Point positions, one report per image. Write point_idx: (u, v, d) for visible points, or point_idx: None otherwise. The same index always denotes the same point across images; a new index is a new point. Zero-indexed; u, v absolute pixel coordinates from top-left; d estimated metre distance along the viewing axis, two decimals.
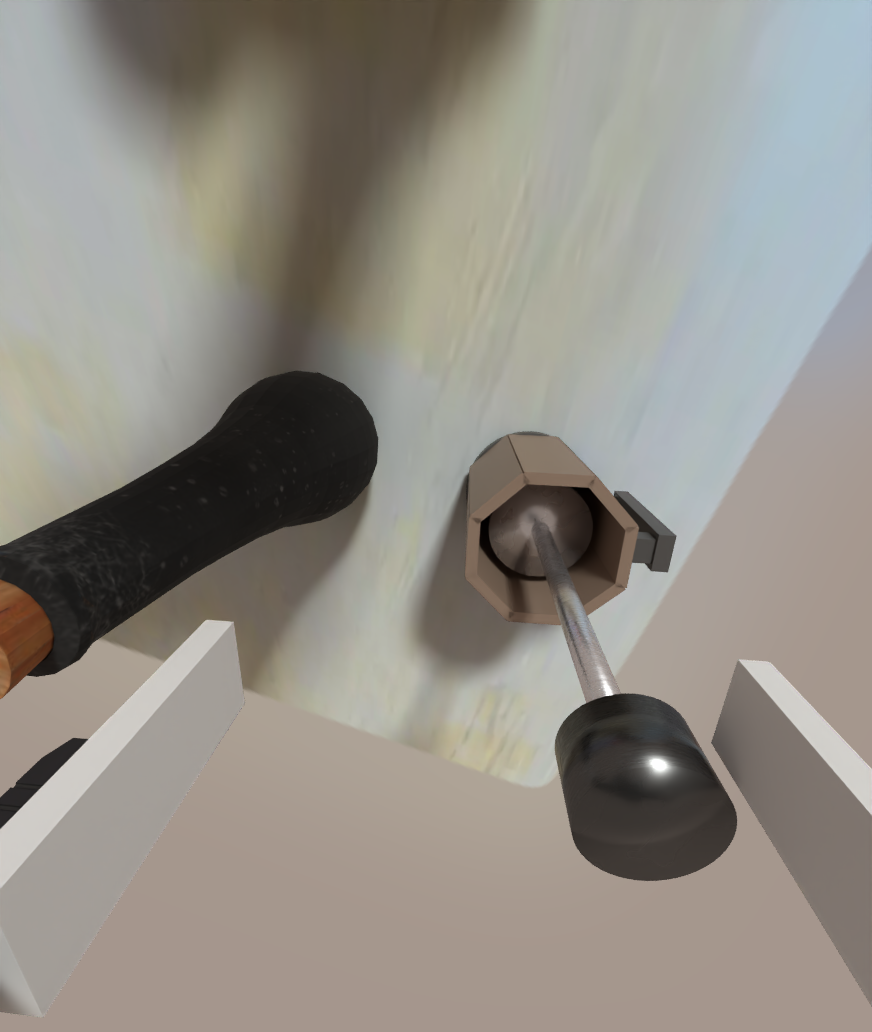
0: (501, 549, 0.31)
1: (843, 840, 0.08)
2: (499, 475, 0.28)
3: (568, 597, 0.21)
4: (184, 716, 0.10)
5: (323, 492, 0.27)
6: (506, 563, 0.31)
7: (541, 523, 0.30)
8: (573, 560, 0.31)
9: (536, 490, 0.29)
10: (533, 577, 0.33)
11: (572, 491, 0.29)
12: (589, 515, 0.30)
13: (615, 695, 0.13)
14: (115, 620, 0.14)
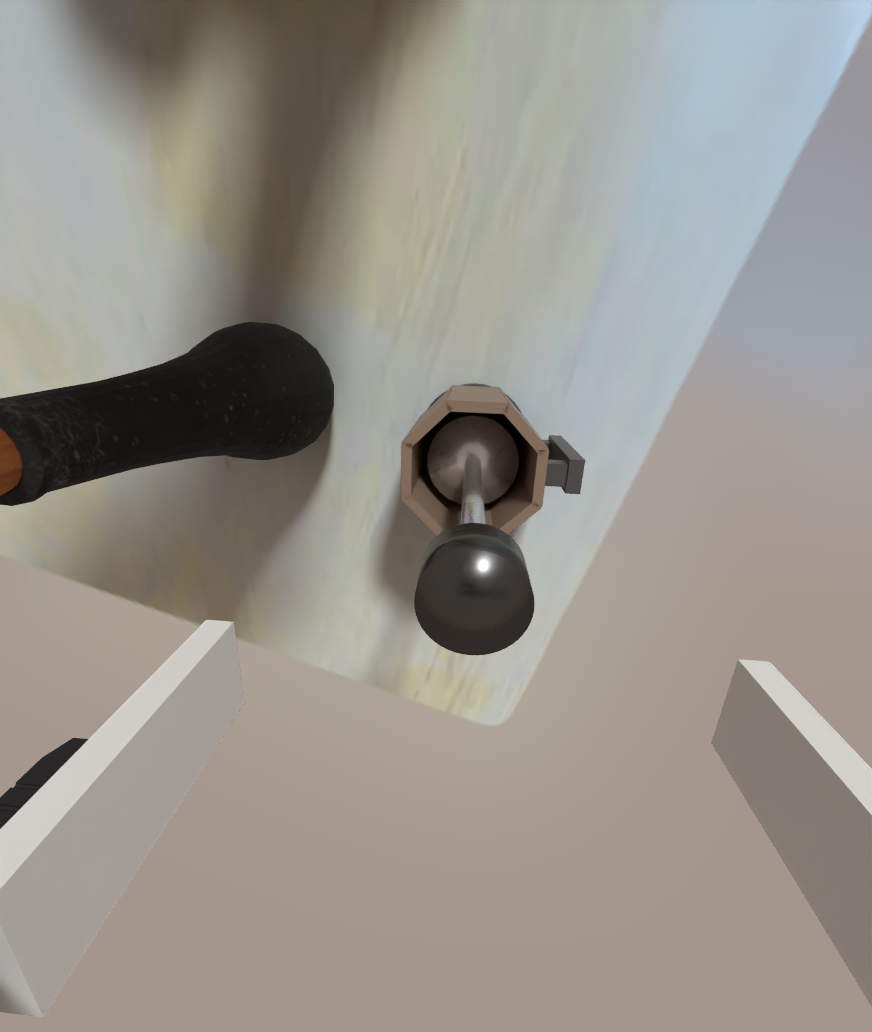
0: (439, 480, 0.35)
1: (843, 840, 0.08)
2: (432, 410, 0.32)
3: (471, 494, 0.25)
4: (184, 716, 0.10)
5: (275, 422, 0.31)
6: (444, 493, 0.35)
7: (472, 455, 0.34)
8: (503, 490, 0.35)
9: (467, 425, 0.33)
10: None
11: (499, 425, 0.33)
12: (515, 447, 0.33)
13: (462, 524, 0.17)
14: (74, 470, 0.17)
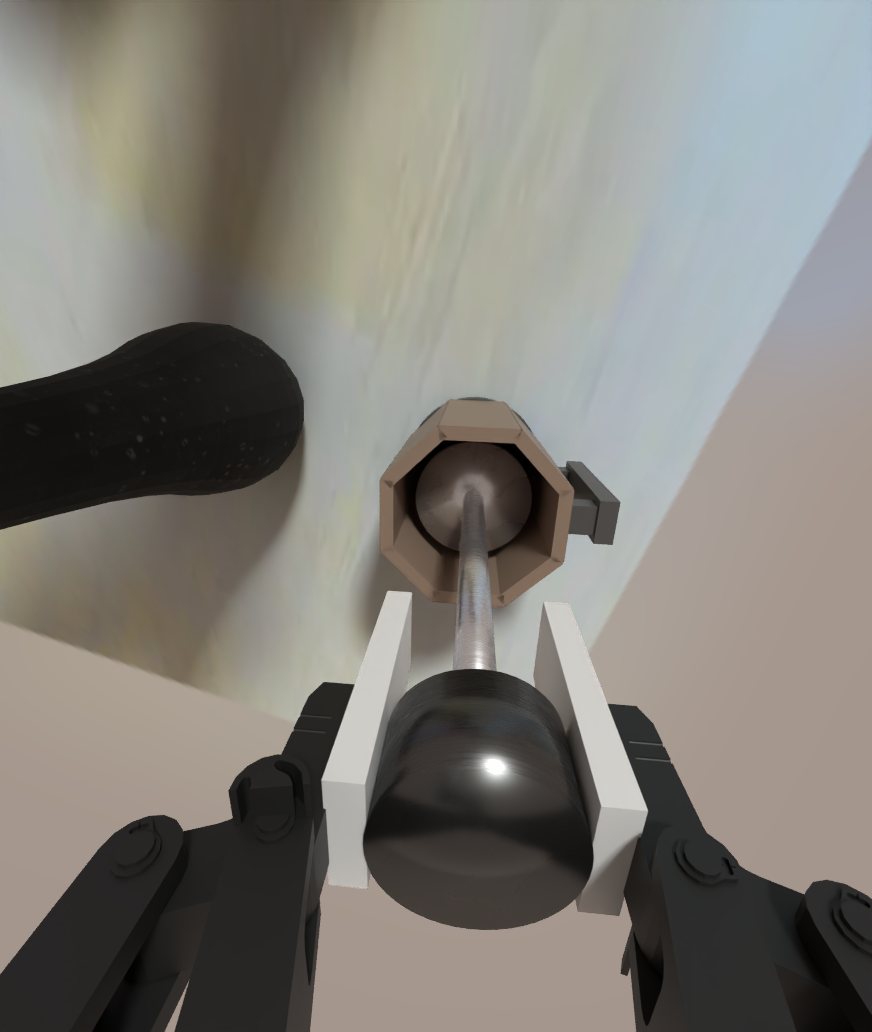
0: (430, 522, 0.27)
1: (563, 723, 0.10)
2: (421, 435, 0.25)
3: (471, 564, 0.17)
4: (400, 667, 0.12)
5: (214, 452, 0.24)
6: (437, 538, 0.28)
7: (473, 491, 0.26)
8: (512, 534, 0.27)
9: (466, 453, 0.26)
10: None
11: (506, 454, 0.26)
12: (527, 482, 0.26)
13: (456, 671, 0.10)
14: None
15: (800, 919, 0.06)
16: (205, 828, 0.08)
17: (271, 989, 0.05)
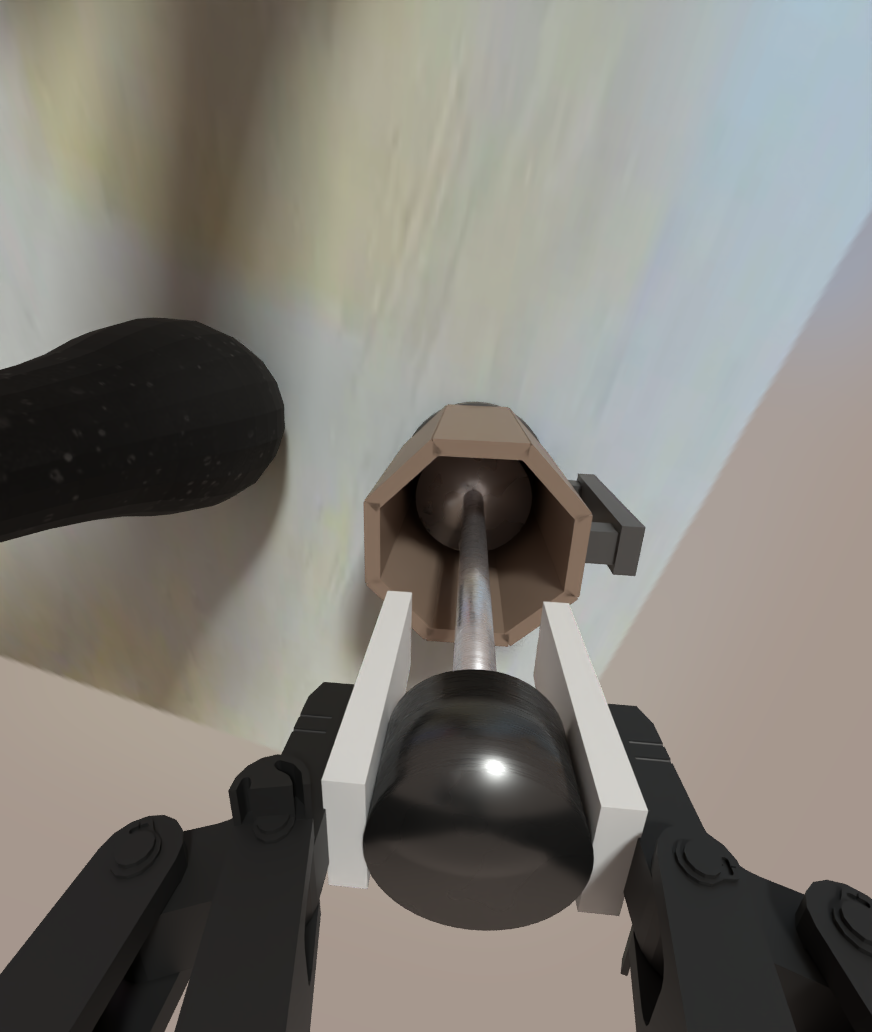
0: (430, 521, 0.27)
1: (563, 724, 0.10)
2: (413, 448, 0.22)
3: (471, 564, 0.17)
4: (400, 668, 0.12)
5: (171, 469, 0.20)
6: (437, 537, 0.28)
7: (473, 491, 0.26)
8: (512, 534, 0.27)
9: None
10: None
11: None
12: (527, 481, 0.26)
13: (456, 671, 0.10)
14: None
15: (799, 918, 0.06)
16: (205, 827, 0.08)
17: (271, 989, 0.05)
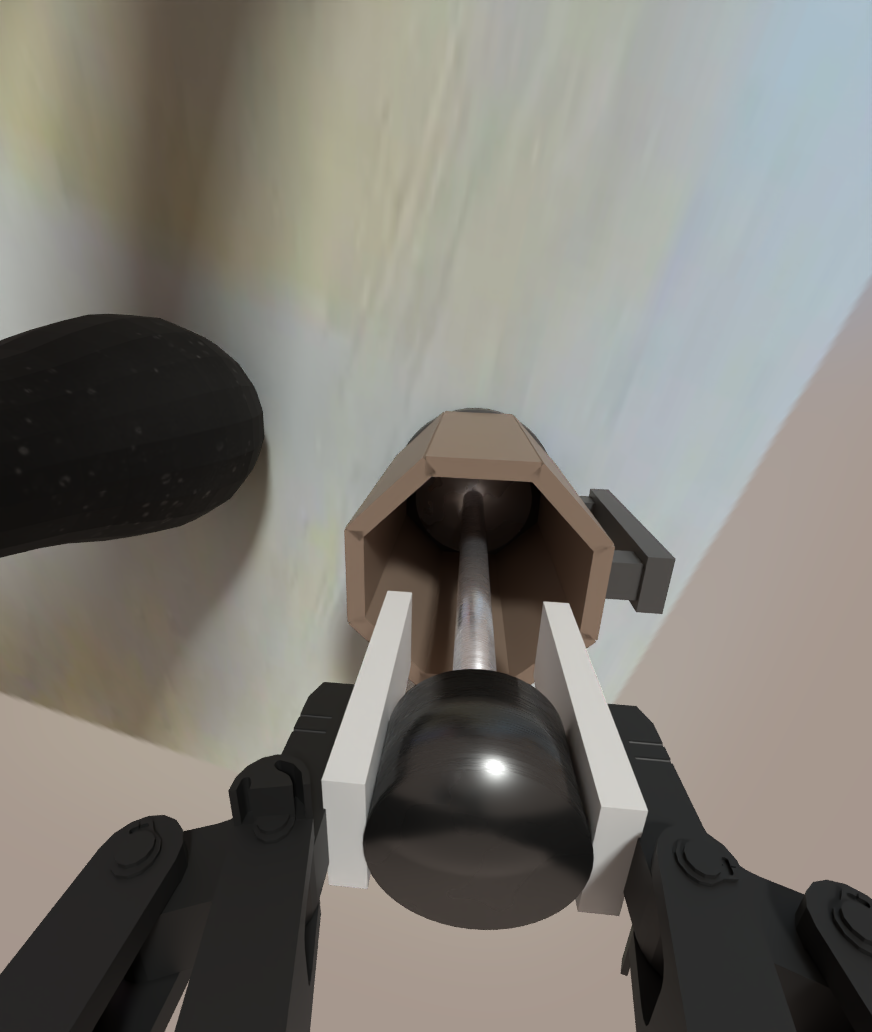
0: (430, 522, 0.27)
1: (563, 723, 0.10)
2: (404, 464, 0.19)
3: (471, 564, 0.17)
4: (400, 668, 0.12)
5: (120, 490, 0.17)
6: (437, 538, 0.28)
7: (473, 491, 0.26)
8: (512, 534, 0.27)
9: None
10: None
11: None
12: (527, 482, 0.26)
13: (456, 671, 0.10)
14: None
15: (801, 920, 0.06)
16: (205, 827, 0.08)
17: (271, 989, 0.05)
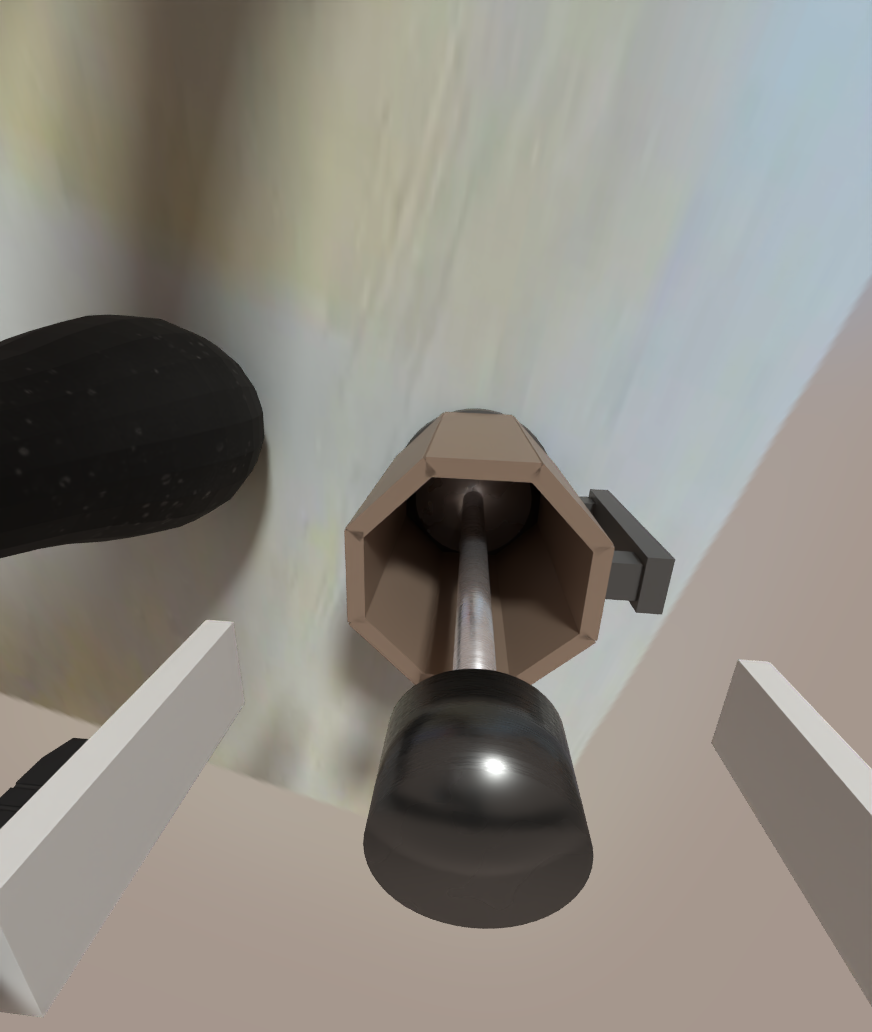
0: (430, 522, 0.28)
1: (843, 840, 0.08)
2: (404, 464, 0.19)
3: (471, 564, 0.18)
4: (184, 716, 0.10)
5: (120, 490, 0.17)
6: (437, 538, 0.28)
7: (473, 492, 0.26)
8: (511, 534, 0.27)
9: None
10: None
11: None
12: (527, 482, 0.26)
13: (456, 671, 0.10)
14: None
15: None
16: None
17: None
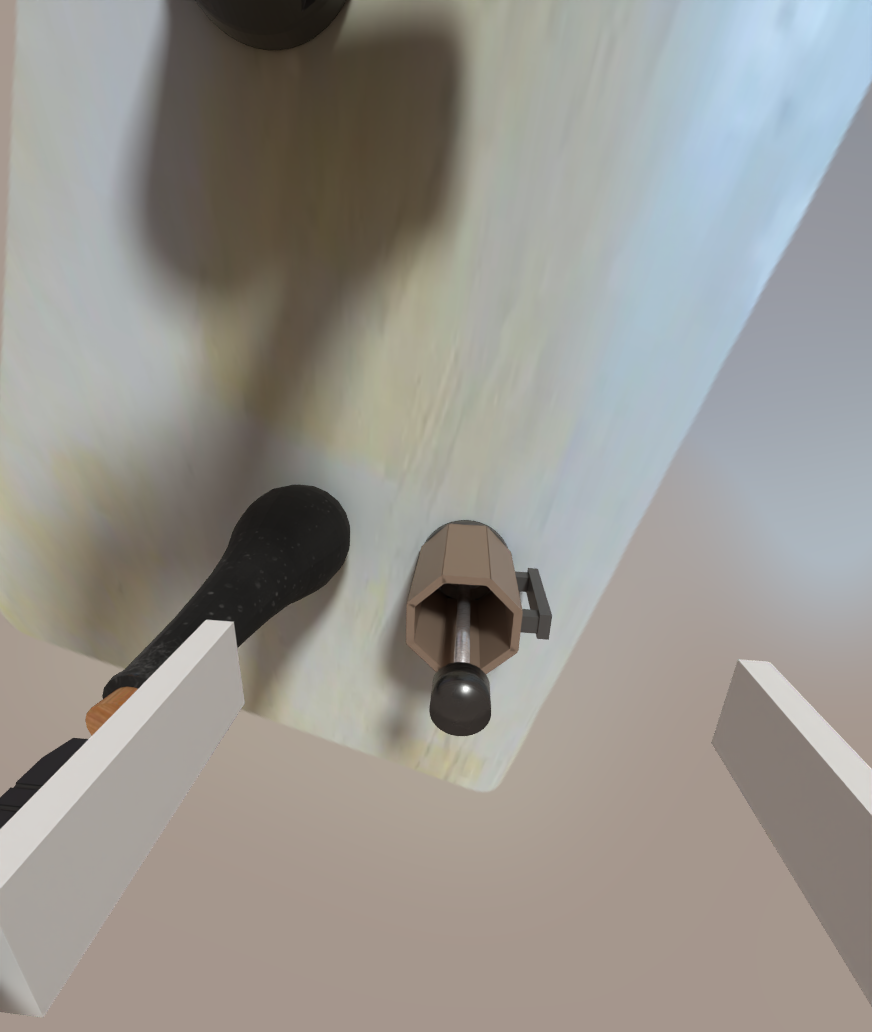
0: None
1: (843, 840, 0.08)
2: (431, 570, 0.40)
3: (461, 617, 0.39)
4: (184, 716, 0.10)
5: (306, 585, 0.39)
6: (444, 592, 0.49)
7: None
8: (486, 590, 0.49)
9: None
10: None
11: None
12: None
13: (454, 662, 0.31)
14: None
15: None
16: None
17: None
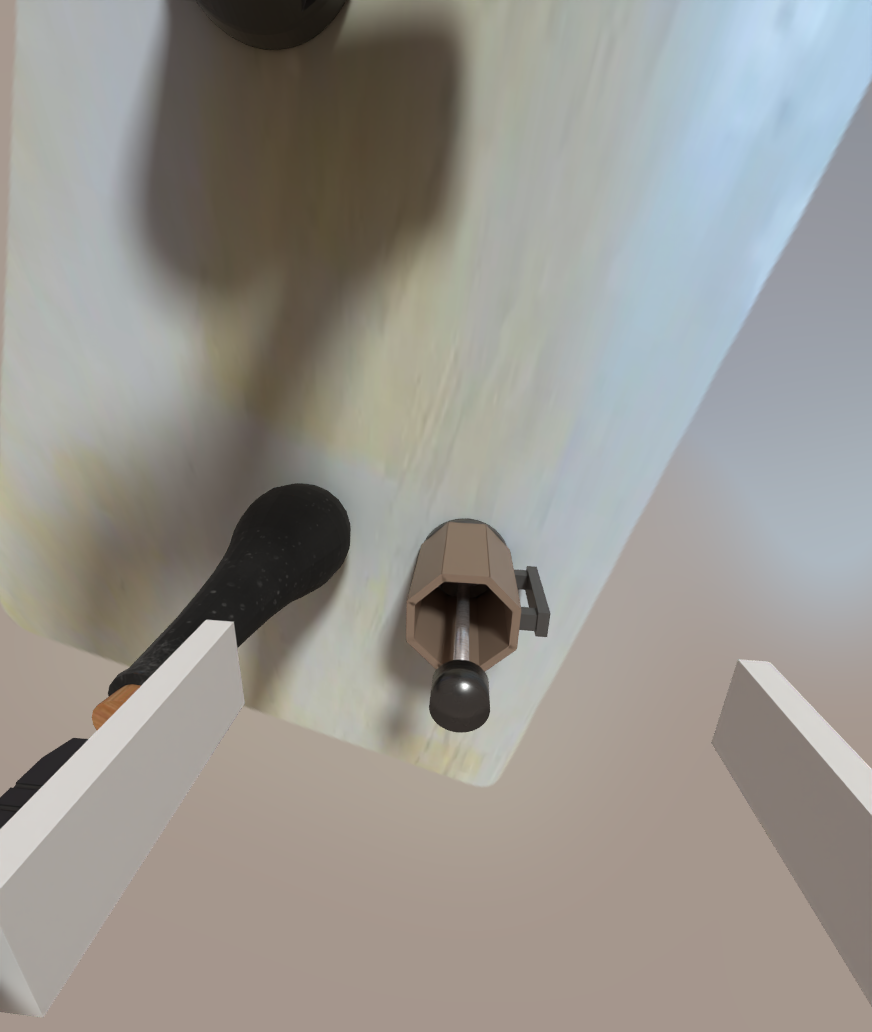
0: None
1: (843, 840, 0.08)
2: (431, 568, 0.41)
3: (461, 615, 0.40)
4: (184, 716, 0.10)
5: (307, 583, 0.39)
6: (444, 590, 0.50)
7: None
8: (485, 588, 0.50)
9: None
10: None
11: None
12: None
13: (454, 660, 0.32)
14: None
15: None
16: None
17: None
